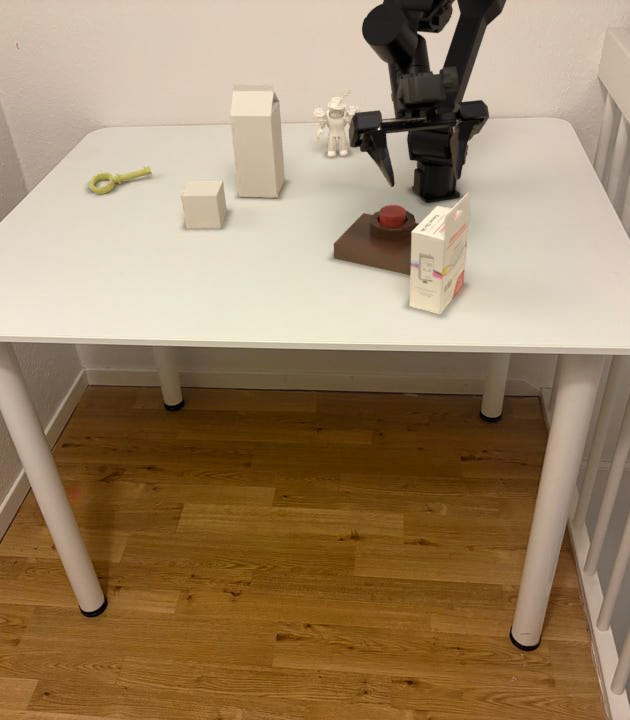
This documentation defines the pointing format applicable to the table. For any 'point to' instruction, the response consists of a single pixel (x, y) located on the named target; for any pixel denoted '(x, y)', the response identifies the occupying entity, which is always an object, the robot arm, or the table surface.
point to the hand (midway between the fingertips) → (425, 182)
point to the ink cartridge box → (439, 256)
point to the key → (115, 179)
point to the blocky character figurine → (335, 123)
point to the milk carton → (257, 140)
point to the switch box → (377, 243)
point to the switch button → (392, 215)
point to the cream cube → (204, 204)
